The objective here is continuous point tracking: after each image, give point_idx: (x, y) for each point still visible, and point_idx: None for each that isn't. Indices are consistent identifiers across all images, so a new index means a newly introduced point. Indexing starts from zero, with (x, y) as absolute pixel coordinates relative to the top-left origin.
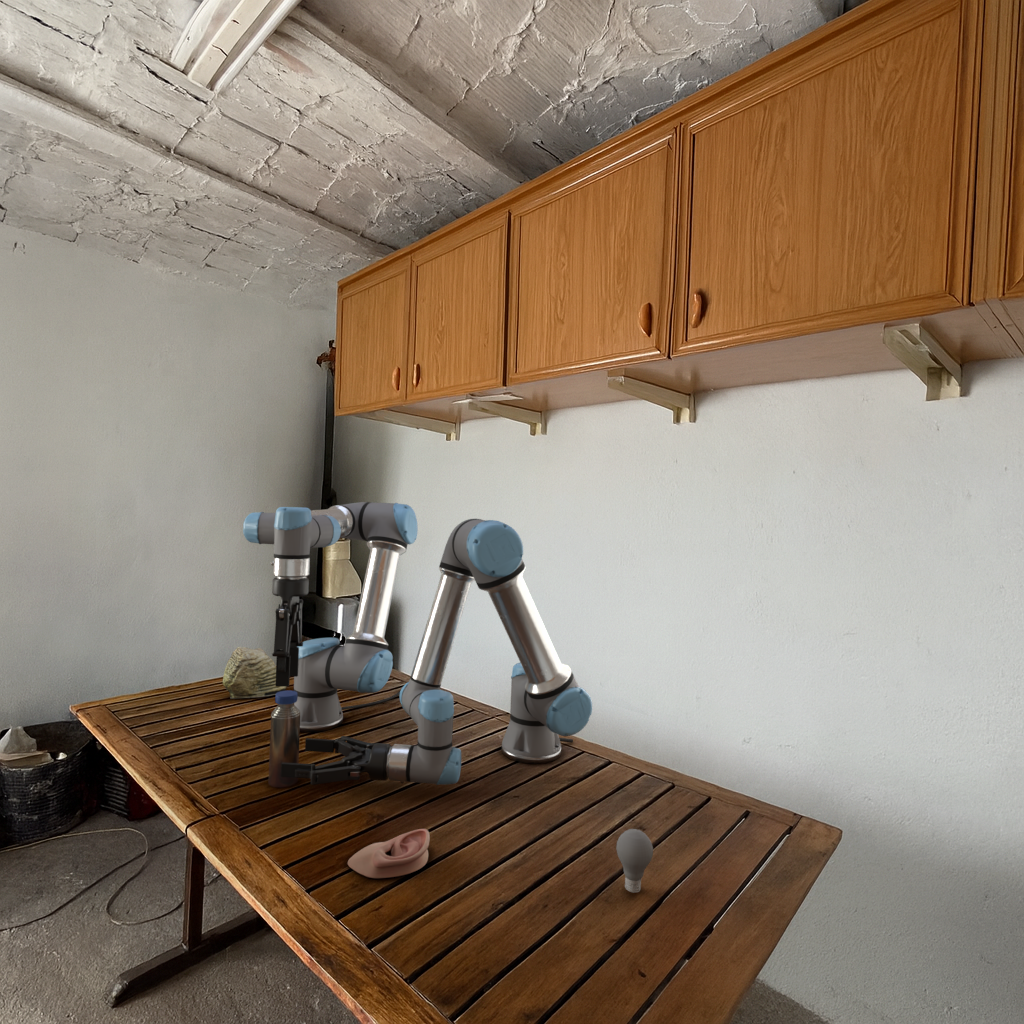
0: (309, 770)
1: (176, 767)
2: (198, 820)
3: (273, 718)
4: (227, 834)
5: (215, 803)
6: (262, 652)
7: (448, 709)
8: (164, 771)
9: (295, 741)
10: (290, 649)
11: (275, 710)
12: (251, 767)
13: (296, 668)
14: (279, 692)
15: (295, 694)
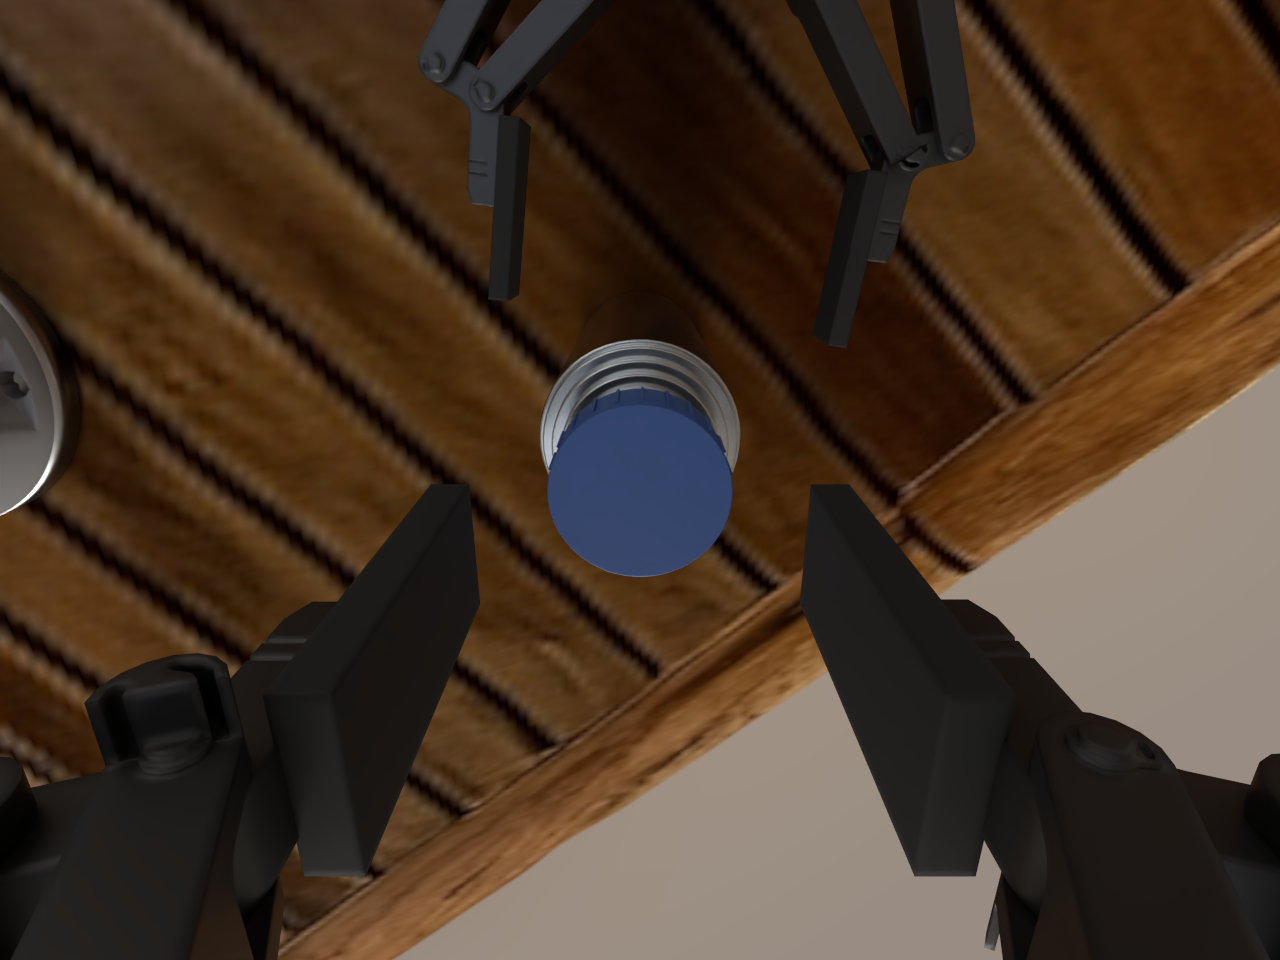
0: (902, 182)
1: (531, 753)
2: (937, 554)
3: None
4: (1055, 433)
5: None
6: None
7: None
8: (565, 773)
9: (681, 326)
10: (362, 790)
11: None
12: (510, 515)
13: (444, 533)
14: (613, 557)
15: (664, 412)
